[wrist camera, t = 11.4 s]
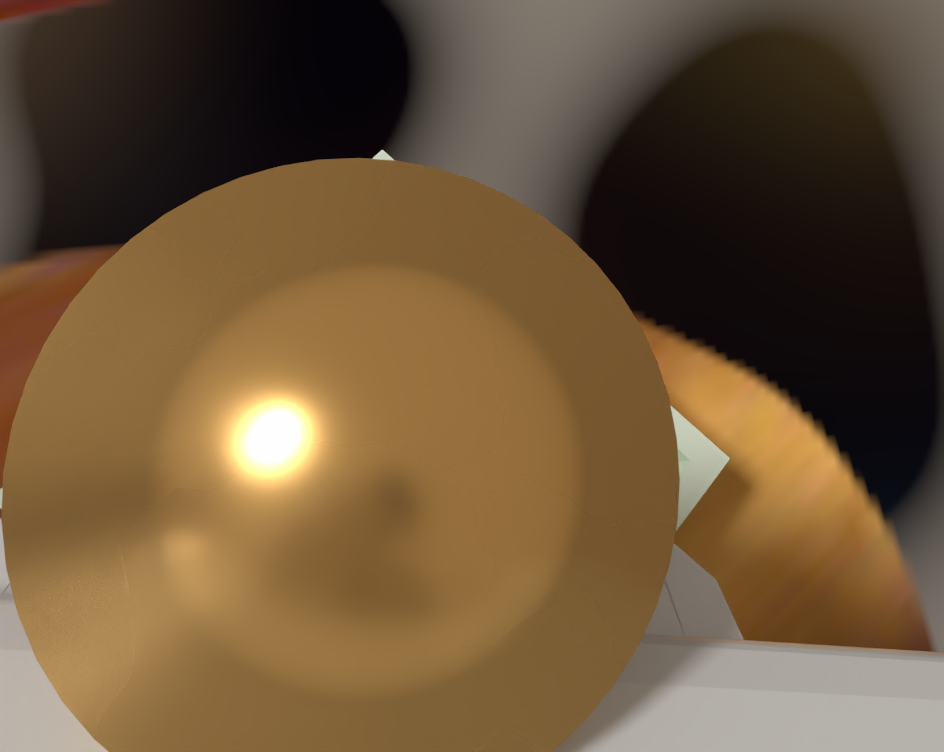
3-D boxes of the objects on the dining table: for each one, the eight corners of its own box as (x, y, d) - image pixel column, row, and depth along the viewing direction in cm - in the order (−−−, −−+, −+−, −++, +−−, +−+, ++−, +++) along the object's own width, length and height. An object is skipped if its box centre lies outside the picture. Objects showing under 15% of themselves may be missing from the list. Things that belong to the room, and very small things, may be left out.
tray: (56, 496, 19) (-10, 498, 16) (385, 194, 22) (382, 149, 19) (402, 832, 18) (401, 900, 15) (685, 462, 21) (730, 458, 18)
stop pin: (260, 487, 16) (-163, 480, 4) (394, 351, 17) (357, 52, 5) (402, 621, 16) (374, 1020, 4) (528, 473, 17) (795, 433, 5)
